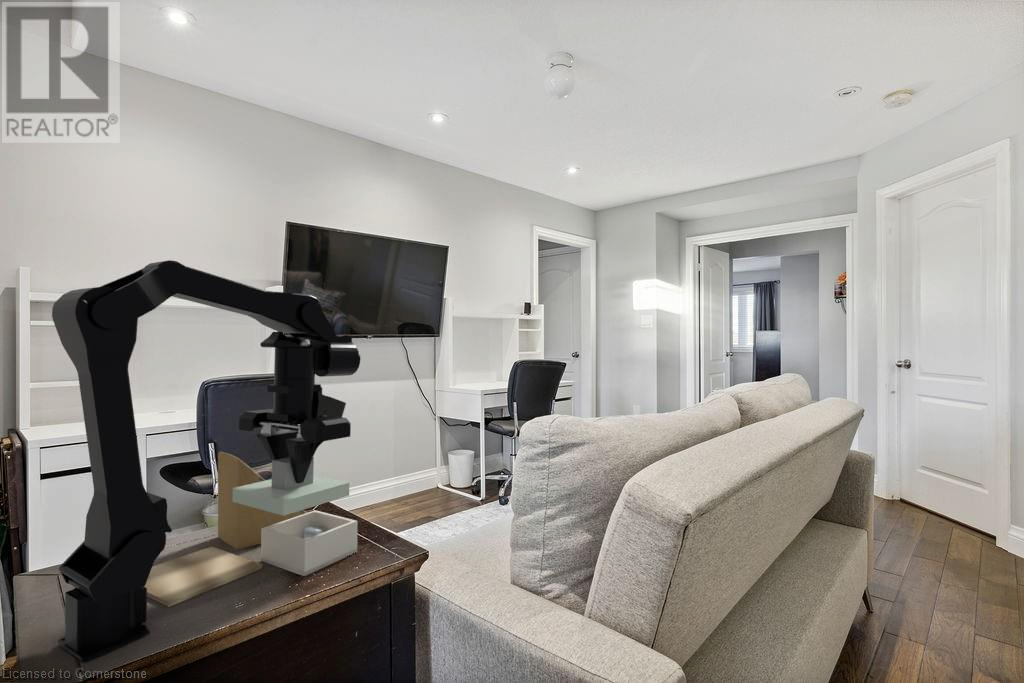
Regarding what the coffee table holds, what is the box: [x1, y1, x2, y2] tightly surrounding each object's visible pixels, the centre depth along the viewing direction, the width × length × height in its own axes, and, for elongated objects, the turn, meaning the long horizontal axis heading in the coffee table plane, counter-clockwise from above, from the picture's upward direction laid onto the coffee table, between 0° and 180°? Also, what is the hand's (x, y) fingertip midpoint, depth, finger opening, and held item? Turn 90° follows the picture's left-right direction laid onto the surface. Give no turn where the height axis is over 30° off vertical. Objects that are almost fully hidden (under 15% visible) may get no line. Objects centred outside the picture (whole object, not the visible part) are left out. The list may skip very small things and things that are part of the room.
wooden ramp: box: [217, 450, 308, 550], centre depth 93 cm, size 9×15×15 cm, turn 138°
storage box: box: [260, 510, 358, 577], centre depth 82 cm, size 10×10×5 cm
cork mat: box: [144, 546, 263, 608], centre depth 75 cm, size 13×13×1 cm
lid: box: [232, 456, 350, 516], centre depth 79 cm, size 12×12×6 cm
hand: (292, 481), depth 79 cm, fingers closed on lid, 3 cm apart
